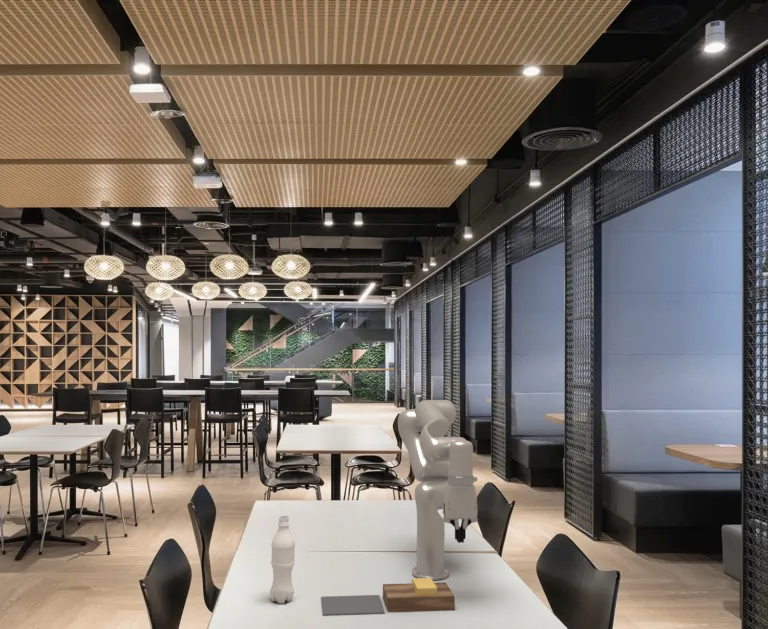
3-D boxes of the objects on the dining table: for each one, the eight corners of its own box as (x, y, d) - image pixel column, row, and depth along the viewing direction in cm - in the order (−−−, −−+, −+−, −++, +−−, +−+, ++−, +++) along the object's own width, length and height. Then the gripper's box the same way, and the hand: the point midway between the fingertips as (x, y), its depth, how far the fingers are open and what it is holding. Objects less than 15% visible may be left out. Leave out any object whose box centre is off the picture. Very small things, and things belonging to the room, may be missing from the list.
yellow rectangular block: (412, 585, 205) (412, 578, 205) (431, 584, 206) (431, 577, 206) (417, 595, 196) (417, 588, 196) (437, 594, 197) (437, 588, 197)
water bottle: (294, 596, 205) (296, 514, 207) (292, 604, 198) (294, 520, 200) (271, 595, 205) (273, 514, 206) (268, 604, 198) (270, 519, 199)
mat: (321, 597, 204) (321, 596, 204) (379, 596, 206) (379, 594, 206) (322, 615, 190) (322, 614, 190) (384, 613, 192) (384, 612, 192)
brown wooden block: (382, 597, 205) (382, 584, 206) (445, 595, 208) (445, 582, 208) (387, 612, 193) (387, 598, 194) (454, 610, 196) (454, 596, 196)
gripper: (480, 478, 209) (480, 537, 208) (434, 479, 207) (433, 538, 206) (487, 483, 202) (487, 544, 200) (439, 483, 200) (438, 545, 198)
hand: (460, 541), depth 203 cm, fingers closed
